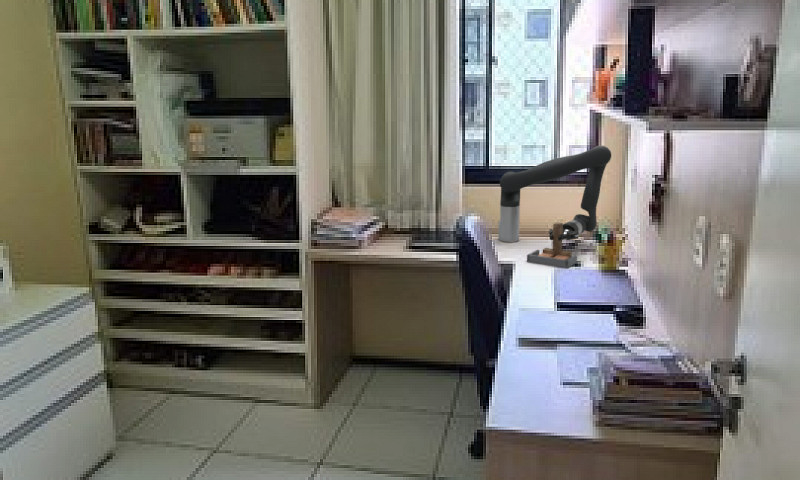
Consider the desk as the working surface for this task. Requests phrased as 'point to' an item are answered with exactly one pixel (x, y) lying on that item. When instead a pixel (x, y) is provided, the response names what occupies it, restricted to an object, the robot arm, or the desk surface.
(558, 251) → the wooden peg stand
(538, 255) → the tile
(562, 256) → the tile
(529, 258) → the box
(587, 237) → the desk surface
